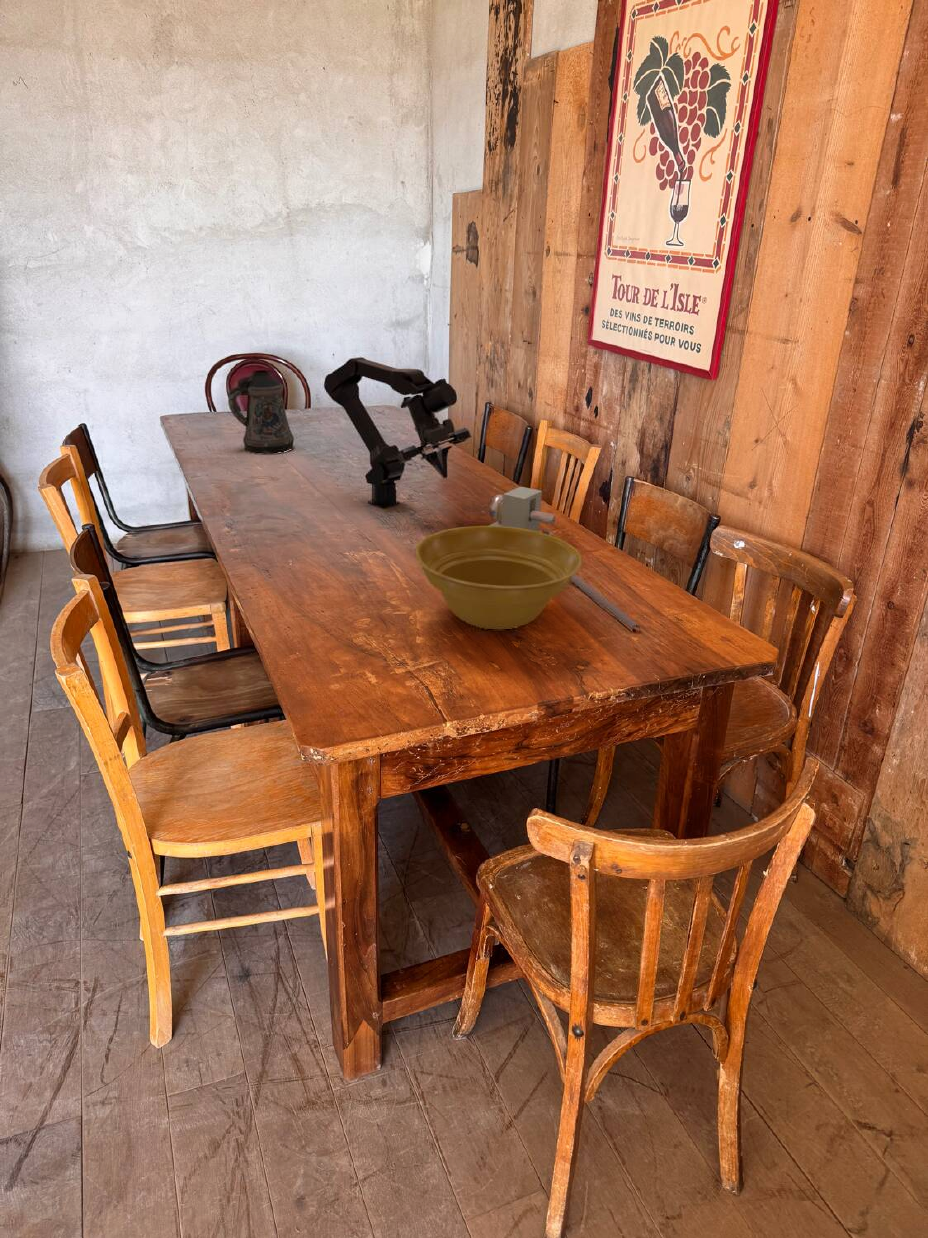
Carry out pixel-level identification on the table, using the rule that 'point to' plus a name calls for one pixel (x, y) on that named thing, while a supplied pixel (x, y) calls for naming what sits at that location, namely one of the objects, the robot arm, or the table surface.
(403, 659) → the table surface
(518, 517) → the bearing block
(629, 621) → the metal rod
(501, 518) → the spacer collar
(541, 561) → the planter bowl
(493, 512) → the shaft
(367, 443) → the robot arm
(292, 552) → the table surface
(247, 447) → the beer stein
